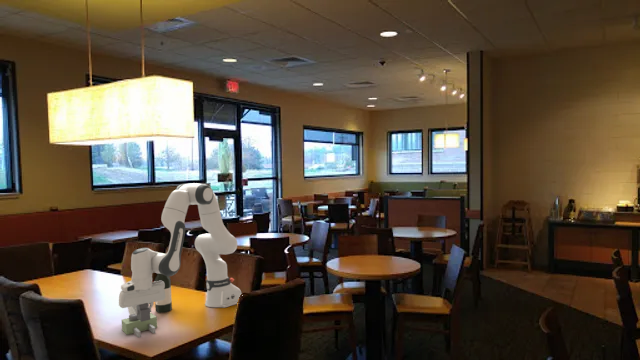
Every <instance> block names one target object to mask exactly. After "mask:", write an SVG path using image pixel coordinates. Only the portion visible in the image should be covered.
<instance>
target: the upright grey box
mask: <svg viewBox="0 0 640 360" xmlns="http://www.w3.org/2000/svg"><path fill="white" fill-rule="evenodd" d="M136 310H139V315H137V319H139V320H140V321H141V322H142V321H147V320H150V313H151V312H150V309H149V308H148V303H146V304H141V305H137V308H136Z"/></svg>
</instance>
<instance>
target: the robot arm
mask: <svg viewBox="0 0 640 360" xmlns="http://www.w3.org/2000/svg"><path fill="white" fill-rule="evenodd" d="M191 205H192V206H193V205H197V209H198V214H199V218H200V223H201V227H202V228H203V229H204V230H205V231H206V232H208V233H202V234H199V235H198V236H196V238H195V240H194V247H195V250H196V251H197V252H198V253H199V254H200V255H201V257H202V258H203V260H204V263H205V269H206V290H207V291H206V299H205V304H204V305H205V307H208V308H228V307H230V306H235V305H238V304H237V302H238V299H239V297H240V295H241V294H242V291H241V289H240V288H239V287H237V286H236V285H234V284H233V282H234V281H235V279H234V278H233V277H229V276H228V264H227V262H226V261H225V260H223V258H221V255H230V254H233V253H234V252H235V251H237V248H238V240H237V238H236V237H235V236H234V235H233V234H231V233H230V231H229V230H228V229H227V227H226V226H225V225H224V222H223V219H222V214H221V211H220V205H219V201H218V199H217V195H216V194H215V193H214V191H213V188H212V187H211V186H210V185H209V184H205V183H197V182H196V183H195V182H193V183H182V184H179V185H178V186H177V187H176V189H175V190H173V191H171V193H170V194H169V196H168V198H167V200H166V201H165V204H164V206H163V207H164V208H163V209H162V212H161V217H160V218H161V219H160V220H161V223H162V225H163V226H164V227H165V228H166V229H167V230H168V231H169V232H170V241H169V245H168V250H167V252H166V253H163V252H158V251H156V250H155V251H154V250H152V249H150V248H149V247H142V248H141V247H140V248H138V249H134V251H133V252H132V253H131V257H130V260H131V261H130V269H131V272H132V273H131V280H129V281H127V282H125V283H123V284H121V285H120V289H121V291H120V292H119V297H118V306H119V307H120V308H122V309H126V308H128V307H131V306H132V308H133V309H134V311H135V315H139V310H136V308H137V305H141V304H146V303H149V309H150V313H152V308H153V307H154V304H155V302H156V301H161V300H164V299H165V290H164V288H165V283H164V282H163V281H153V274H154V273H156V274H157V275H158V274H163V275H166V276H169V277H172V276H174V275H176V274H178V272H179V270H180V268H181V261H182V259H181V258H182V250H183V247H184V245H183V244H184V242H185V241H184V240H185V235H186V225H185V219H186V216H187V213H188V209H189V206H191ZM161 282H162V283H161Z"/></svg>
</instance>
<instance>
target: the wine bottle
mask: <svg viewBox="0 0 640 360" xmlns="http://www.w3.org/2000/svg"><path fill="white" fill-rule="evenodd" d="M154 281H163V282H164V283H165V288H164V290H165V299H164V300H161V301H156V302H154V304H155V306H154V307H155V313H157V314H166V313H168V312H171V311H172V310H173V305H172V302H173V301H172V283H171V282H172V281H171V276H166V275H163V274H158V273H157V275H156V276H155V279H154ZM154 281H153V282H154ZM161 283H162V282H161Z"/></svg>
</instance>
